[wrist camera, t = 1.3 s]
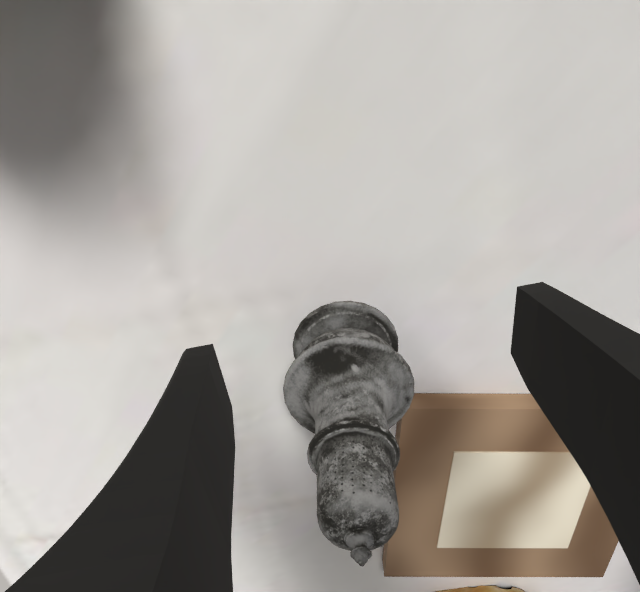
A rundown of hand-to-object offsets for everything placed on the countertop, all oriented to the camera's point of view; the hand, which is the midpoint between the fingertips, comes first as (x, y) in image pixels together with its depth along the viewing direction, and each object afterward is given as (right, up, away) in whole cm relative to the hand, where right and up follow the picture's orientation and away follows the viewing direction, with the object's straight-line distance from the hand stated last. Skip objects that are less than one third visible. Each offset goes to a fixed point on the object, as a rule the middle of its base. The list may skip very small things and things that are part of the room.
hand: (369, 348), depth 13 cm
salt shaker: (0, -1, +15) cm, 15 cm away
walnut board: (+10, -10, +20) cm, 24 cm away
